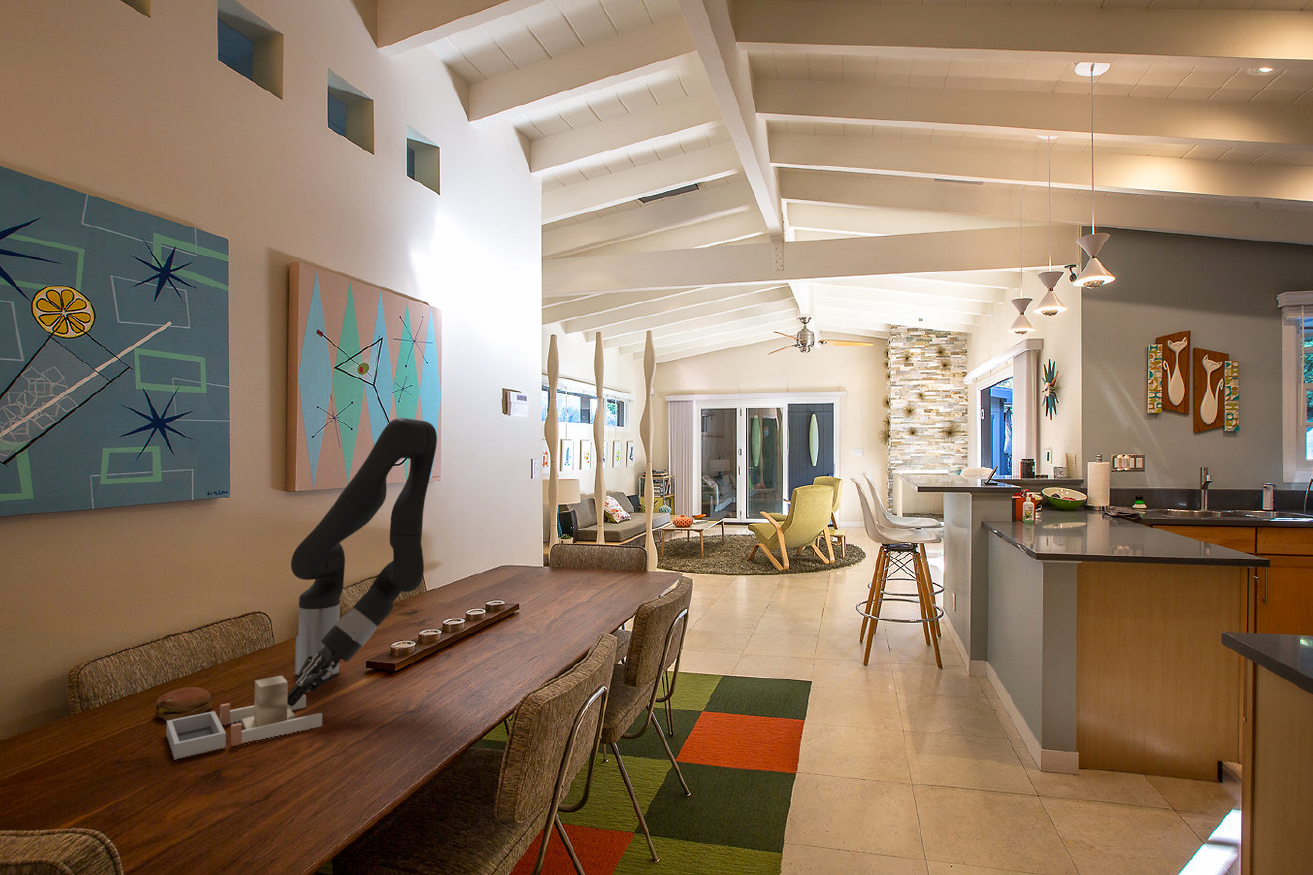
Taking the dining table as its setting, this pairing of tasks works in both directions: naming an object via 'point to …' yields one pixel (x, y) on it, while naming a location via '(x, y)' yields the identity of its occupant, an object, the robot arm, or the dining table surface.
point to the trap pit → (195, 734)
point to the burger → (183, 703)
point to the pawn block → (269, 703)
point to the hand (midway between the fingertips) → (287, 703)
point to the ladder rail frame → (266, 730)
